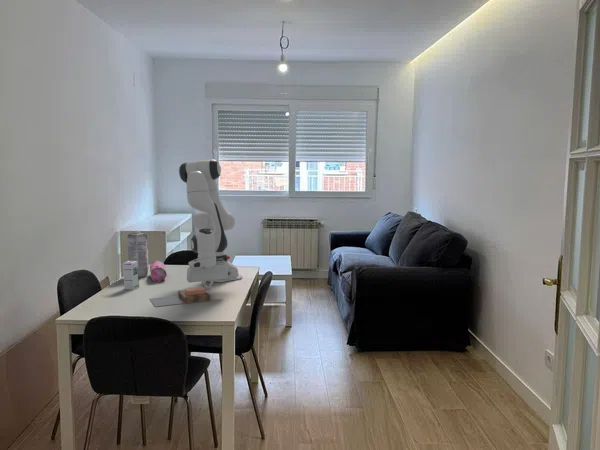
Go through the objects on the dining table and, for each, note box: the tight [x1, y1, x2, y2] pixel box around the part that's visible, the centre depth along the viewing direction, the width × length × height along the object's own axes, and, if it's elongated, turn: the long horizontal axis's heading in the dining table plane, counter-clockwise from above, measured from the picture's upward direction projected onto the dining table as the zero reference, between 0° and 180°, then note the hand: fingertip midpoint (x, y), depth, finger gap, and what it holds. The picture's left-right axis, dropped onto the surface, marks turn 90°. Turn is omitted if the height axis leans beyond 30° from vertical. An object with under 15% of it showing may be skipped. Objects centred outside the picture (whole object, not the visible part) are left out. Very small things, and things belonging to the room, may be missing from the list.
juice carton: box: [127, 230, 149, 278], centre depth 306 cm, size 9×10×27 cm
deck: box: [177, 289, 211, 304], centre depth 255 cm, size 12×16×2 cm
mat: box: [149, 294, 186, 308], centre depth 250 cm, size 14×16×1 cm
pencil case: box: [149, 260, 168, 283], centre depth 301 cm, size 21×9×9 cm, turn 16°
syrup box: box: [122, 260, 140, 291], centre depth 276 cm, size 6×6×14 cm
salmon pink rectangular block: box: [184, 286, 207, 295], centre depth 255 cm, size 9×6×2 cm, turn 115°
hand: (208, 289), depth 257 cm, fingers closed
